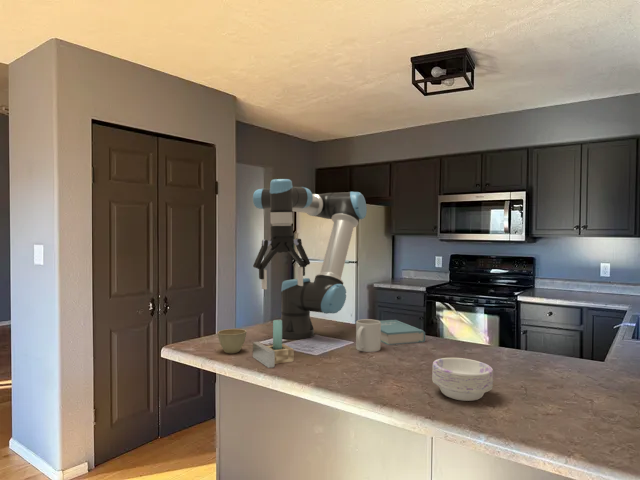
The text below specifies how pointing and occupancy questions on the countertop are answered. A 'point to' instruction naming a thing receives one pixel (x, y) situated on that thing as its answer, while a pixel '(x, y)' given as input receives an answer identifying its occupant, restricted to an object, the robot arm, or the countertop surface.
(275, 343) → the dowel
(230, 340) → the flower pot
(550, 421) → the countertop surface
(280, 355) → the block
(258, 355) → the backstop rail
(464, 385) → the paper bowls
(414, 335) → the book
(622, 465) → the countertop surface
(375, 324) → the mug
